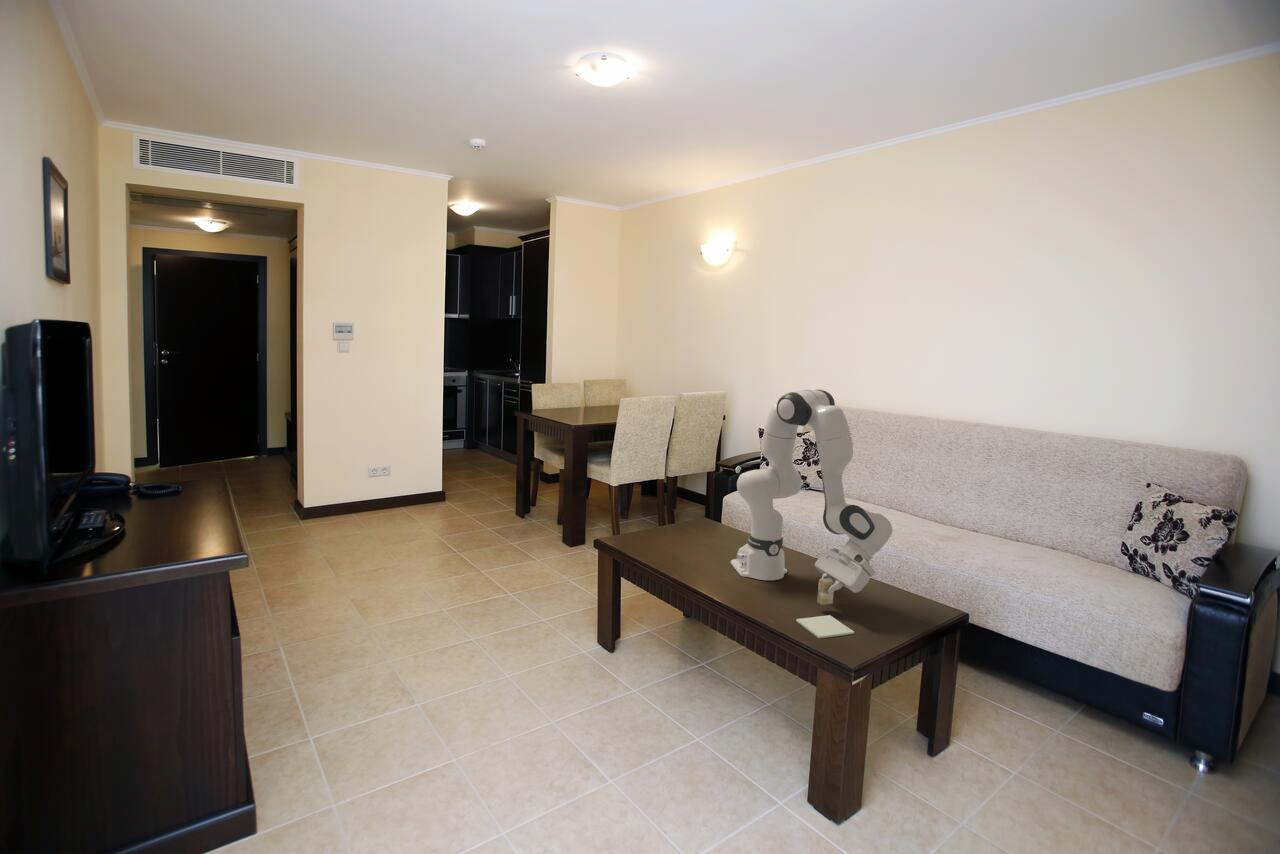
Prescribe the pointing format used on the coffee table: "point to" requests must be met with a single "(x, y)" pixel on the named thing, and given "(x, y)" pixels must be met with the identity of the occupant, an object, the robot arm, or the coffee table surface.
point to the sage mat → (824, 626)
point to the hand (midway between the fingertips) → (824, 589)
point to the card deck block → (823, 595)
